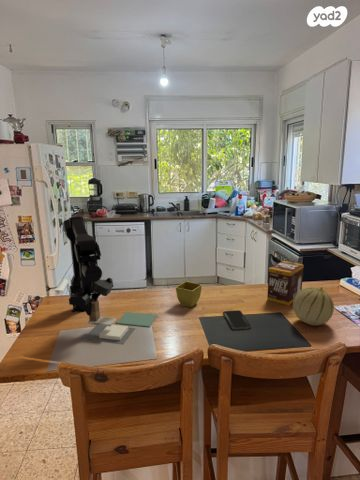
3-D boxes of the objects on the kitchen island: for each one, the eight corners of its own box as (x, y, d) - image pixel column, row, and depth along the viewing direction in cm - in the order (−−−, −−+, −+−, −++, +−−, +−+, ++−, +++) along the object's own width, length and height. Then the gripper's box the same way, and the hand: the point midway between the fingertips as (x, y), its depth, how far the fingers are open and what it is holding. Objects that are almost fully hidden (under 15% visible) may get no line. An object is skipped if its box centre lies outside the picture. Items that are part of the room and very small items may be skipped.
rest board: (116, 324, 133) (116, 322, 132) (126, 314, 142) (126, 311, 142) (149, 328, 129) (149, 326, 129) (157, 317, 139) (157, 314, 139)
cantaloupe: (284, 318, 136) (286, 283, 132) (312, 312, 141) (314, 278, 138) (311, 335, 123) (314, 297, 119) (340, 327, 128) (344, 290, 125)
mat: (82, 340, 121) (81, 339, 121) (97, 325, 132) (97, 324, 132) (123, 345, 117) (123, 344, 117) (135, 329, 129) (135, 328, 129)
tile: (99, 334, 121) (119, 336, 119) (108, 324, 129) (128, 326, 127) (99, 338, 121) (119, 340, 120) (109, 327, 129) (128, 330, 127)
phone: (232, 328, 127) (222, 311, 142) (231, 331, 127) (222, 313, 142) (252, 326, 128) (240, 310, 143) (252, 329, 128) (240, 312, 143)
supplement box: (266, 300, 154) (268, 267, 151) (280, 290, 166) (282, 260, 162) (288, 306, 148) (290, 272, 144) (301, 295, 159) (304, 264, 156)
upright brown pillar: (87, 323, 123) (86, 304, 121) (94, 317, 128) (93, 298, 126) (110, 326, 121) (109, 306, 119) (116, 320, 126) (115, 300, 124)
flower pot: (192, 310, 145) (192, 290, 143) (175, 306, 149) (175, 287, 147) (202, 303, 152) (202, 284, 150) (185, 299, 157) (185, 281, 155)
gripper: (96, 284, 110) (99, 327, 114) (119, 267, 128) (121, 305, 132) (66, 281, 113) (70, 324, 117) (93, 265, 131) (95, 302, 134)
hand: (91, 313), depth 125 cm, fingers closed on upright brown pillar, 3 cm apart
